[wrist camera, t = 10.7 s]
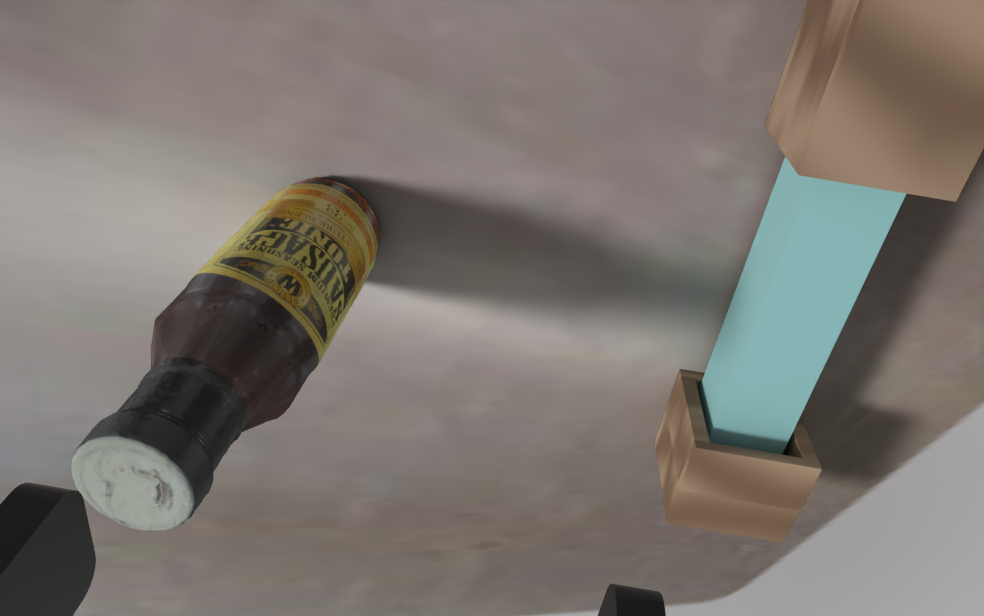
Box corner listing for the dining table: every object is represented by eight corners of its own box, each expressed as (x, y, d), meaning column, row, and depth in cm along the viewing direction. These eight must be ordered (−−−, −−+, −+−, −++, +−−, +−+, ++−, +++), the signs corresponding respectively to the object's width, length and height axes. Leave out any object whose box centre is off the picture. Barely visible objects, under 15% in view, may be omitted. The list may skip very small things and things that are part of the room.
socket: (679, 369, 43) (696, 447, 37) (789, 387, 43) (822, 469, 37) (655, 440, 46) (666, 522, 40) (757, 457, 46) (783, 542, 40)
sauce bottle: (408, 225, 40) (288, 505, 23) (339, 295, 42) (186, 592, 25) (309, 141, 38) (97, 379, 21) (243, 221, 40) (9, 489, 23)
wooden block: (838, -88, 30) (894, -74, 25) (993, -61, 30) (1082, -42, 25) (764, 126, 35) (798, 175, 30) (898, 148, 35) (955, 201, 30)
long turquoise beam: (801, 112, 34) (827, 142, 31) (888, 127, 34) (923, 158, 31) (689, 412, 44) (700, 460, 40) (757, 424, 44) (773, 473, 40)
